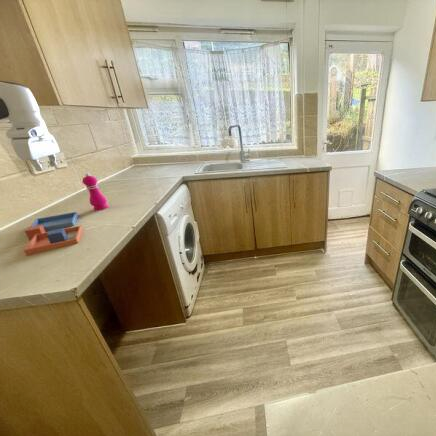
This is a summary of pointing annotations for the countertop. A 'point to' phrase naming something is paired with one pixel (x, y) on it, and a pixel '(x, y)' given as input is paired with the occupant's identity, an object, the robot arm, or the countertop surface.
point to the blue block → (57, 236)
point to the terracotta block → (34, 231)
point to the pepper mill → (94, 193)
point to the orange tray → (43, 244)
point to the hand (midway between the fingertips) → (47, 168)
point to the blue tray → (56, 221)
